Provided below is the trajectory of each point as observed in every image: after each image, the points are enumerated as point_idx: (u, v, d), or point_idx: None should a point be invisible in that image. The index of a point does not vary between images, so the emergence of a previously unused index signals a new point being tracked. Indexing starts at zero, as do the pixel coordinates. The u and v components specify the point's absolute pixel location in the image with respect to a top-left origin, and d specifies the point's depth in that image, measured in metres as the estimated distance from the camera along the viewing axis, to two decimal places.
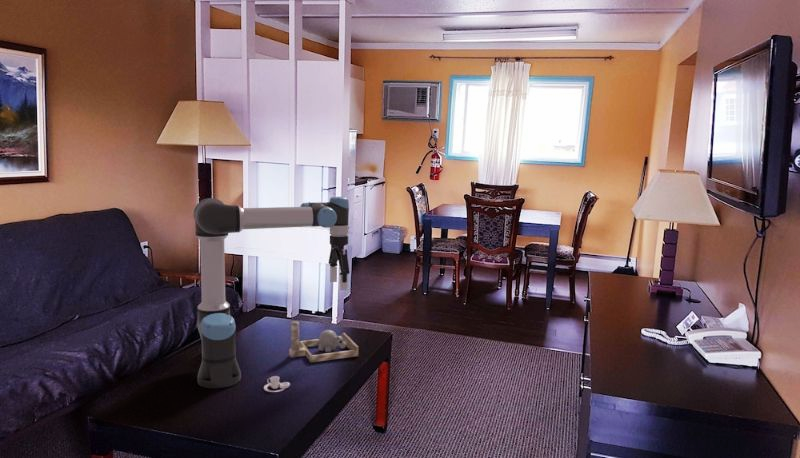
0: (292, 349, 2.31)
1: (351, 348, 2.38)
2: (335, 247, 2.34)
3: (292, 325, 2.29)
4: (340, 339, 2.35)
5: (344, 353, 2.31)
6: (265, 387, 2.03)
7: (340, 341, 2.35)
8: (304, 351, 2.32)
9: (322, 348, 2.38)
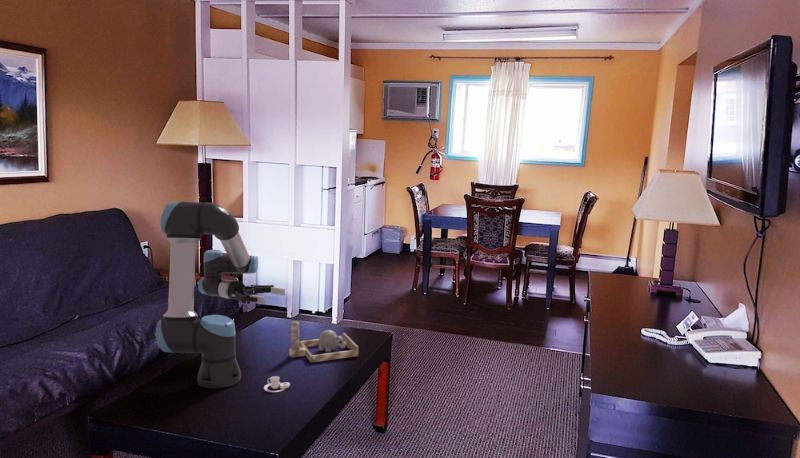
0: (292, 349, 2.31)
1: (351, 348, 2.38)
2: (241, 289, 2.36)
3: (292, 325, 2.29)
4: (340, 339, 2.35)
5: (344, 353, 2.31)
6: (265, 387, 2.03)
7: (340, 341, 2.35)
8: (304, 351, 2.32)
9: (322, 348, 2.38)
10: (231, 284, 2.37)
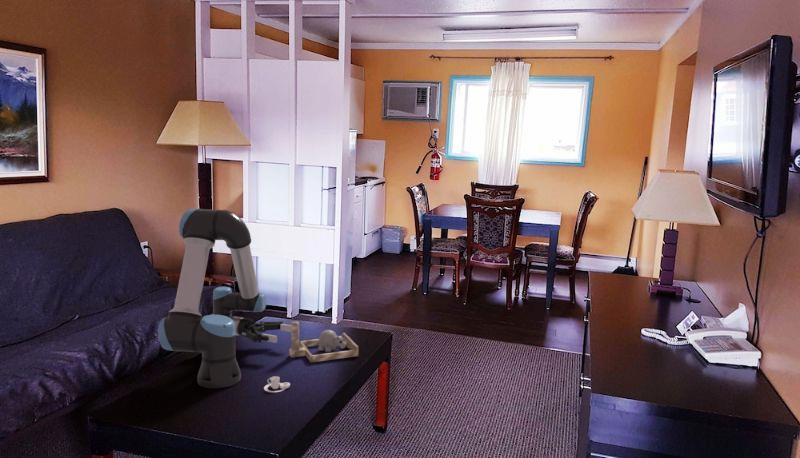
0: (292, 349, 2.31)
1: (351, 348, 2.38)
2: (251, 326, 2.38)
3: (292, 325, 2.29)
4: (340, 339, 2.35)
5: (344, 353, 2.31)
6: (265, 387, 2.03)
7: (340, 341, 2.35)
8: (304, 351, 2.32)
9: (322, 348, 2.38)
10: (241, 321, 2.38)
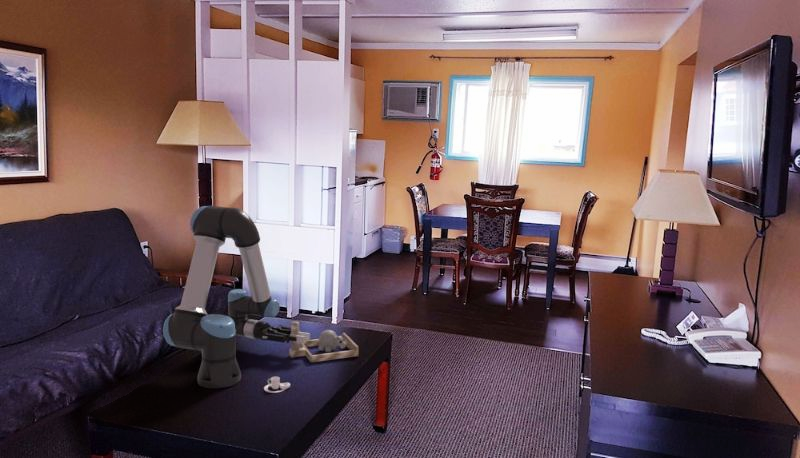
0: (292, 349, 2.31)
1: (351, 348, 2.38)
2: (264, 330, 2.34)
3: (292, 325, 2.29)
4: (340, 339, 2.35)
5: (344, 353, 2.31)
6: (265, 388, 2.02)
7: (340, 341, 2.35)
8: (304, 351, 2.32)
9: (322, 348, 2.38)
10: (256, 324, 2.34)
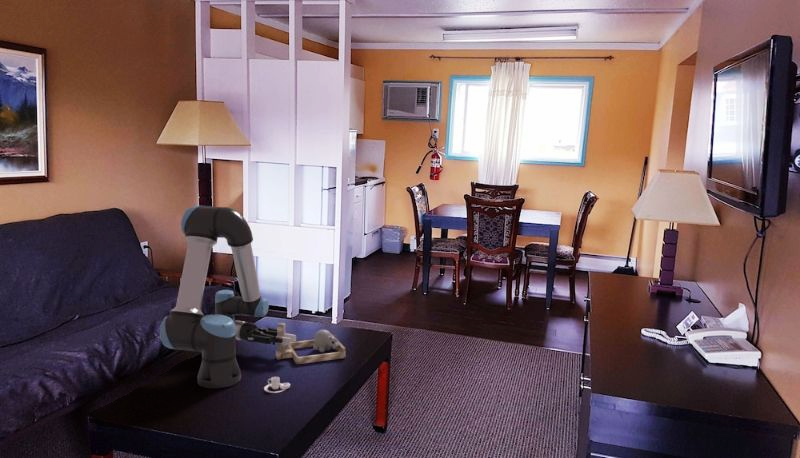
0: (278, 351, 2.28)
1: (338, 350, 2.36)
2: (250, 331, 2.32)
3: (278, 326, 2.27)
4: (333, 340, 2.34)
5: (331, 355, 2.29)
6: (265, 388, 2.02)
7: (332, 342, 2.34)
8: (290, 353, 2.30)
9: (316, 347, 2.38)
10: (243, 326, 2.32)
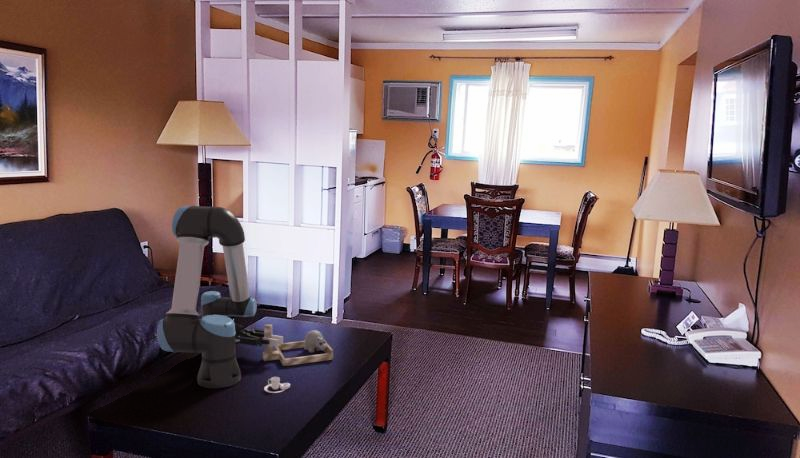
0: (265, 352, 2.26)
1: (326, 351, 2.34)
2: (237, 333, 2.30)
3: (265, 328, 2.25)
4: (320, 341, 2.33)
5: (318, 356, 2.27)
6: (265, 388, 2.02)
7: (320, 343, 2.33)
8: (278, 354, 2.28)
9: (306, 347, 2.38)
10: None
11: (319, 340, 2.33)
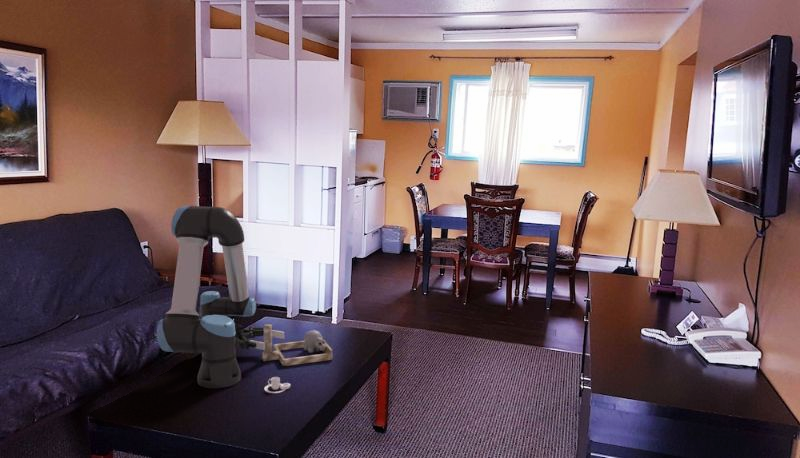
0: (265, 352, 2.26)
1: (326, 351, 2.34)
2: (239, 332, 2.30)
3: (264, 328, 2.25)
4: (320, 341, 2.33)
5: (318, 356, 2.27)
6: (266, 388, 2.02)
7: (319, 343, 2.32)
8: (277, 354, 2.28)
9: (306, 348, 2.38)
10: None
11: (319, 340, 2.33)
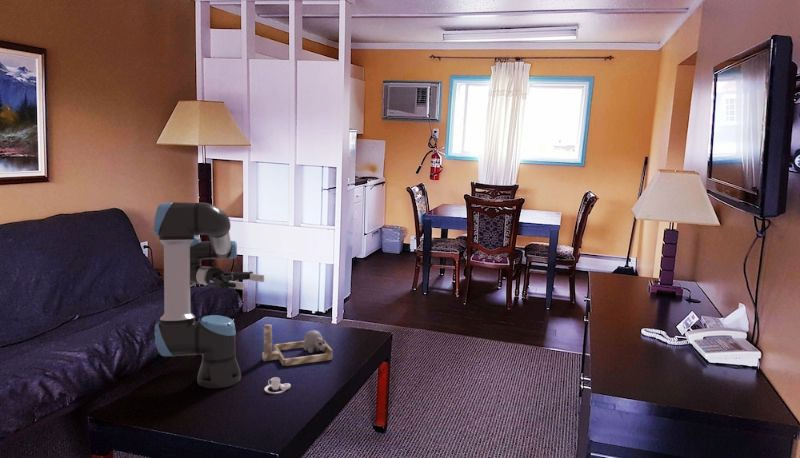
0: (265, 352, 2.26)
1: (326, 351, 2.34)
2: (219, 275, 2.34)
3: (264, 328, 2.25)
4: (320, 341, 2.33)
5: (318, 356, 2.27)
6: (266, 388, 2.02)
7: (319, 343, 2.32)
8: (277, 354, 2.28)
9: (306, 348, 2.38)
10: (209, 270, 2.34)
11: (319, 340, 2.33)
